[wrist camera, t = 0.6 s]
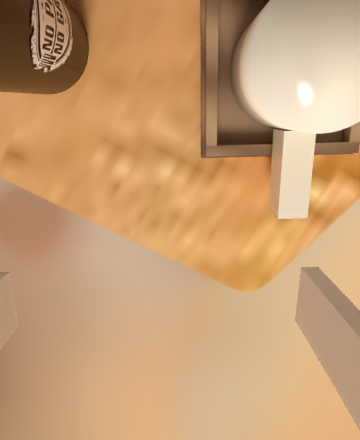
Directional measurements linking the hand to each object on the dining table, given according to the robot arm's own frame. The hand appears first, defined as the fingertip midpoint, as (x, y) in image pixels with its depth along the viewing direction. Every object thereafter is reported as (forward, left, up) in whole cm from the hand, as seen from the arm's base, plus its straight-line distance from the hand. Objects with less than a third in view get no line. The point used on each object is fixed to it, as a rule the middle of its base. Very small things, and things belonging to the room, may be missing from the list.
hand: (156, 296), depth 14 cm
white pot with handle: (-8, +11, -19) cm, 23 cm away
